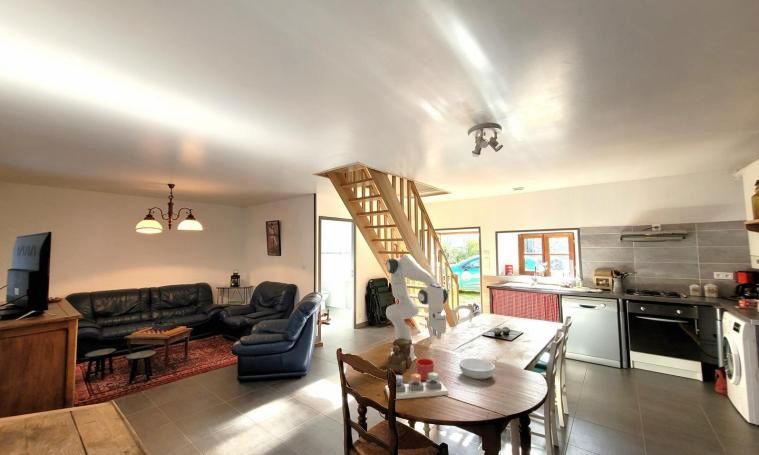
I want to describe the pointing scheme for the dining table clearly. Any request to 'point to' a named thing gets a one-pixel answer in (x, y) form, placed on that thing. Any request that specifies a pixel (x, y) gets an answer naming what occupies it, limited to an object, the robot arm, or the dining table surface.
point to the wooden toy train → (400, 355)
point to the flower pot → (424, 368)
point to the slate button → (399, 379)
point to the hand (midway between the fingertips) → (436, 337)
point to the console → (419, 389)
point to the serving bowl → (477, 368)
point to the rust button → (415, 378)
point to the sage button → (433, 376)
